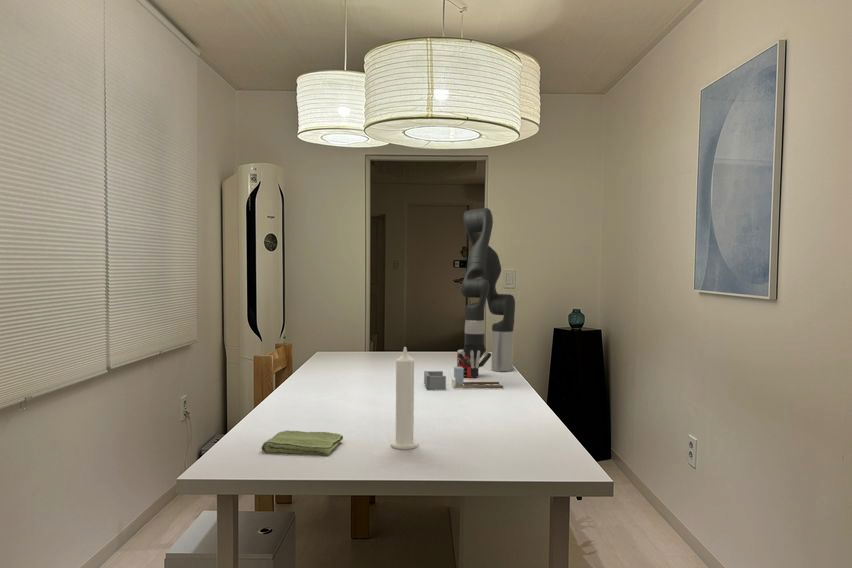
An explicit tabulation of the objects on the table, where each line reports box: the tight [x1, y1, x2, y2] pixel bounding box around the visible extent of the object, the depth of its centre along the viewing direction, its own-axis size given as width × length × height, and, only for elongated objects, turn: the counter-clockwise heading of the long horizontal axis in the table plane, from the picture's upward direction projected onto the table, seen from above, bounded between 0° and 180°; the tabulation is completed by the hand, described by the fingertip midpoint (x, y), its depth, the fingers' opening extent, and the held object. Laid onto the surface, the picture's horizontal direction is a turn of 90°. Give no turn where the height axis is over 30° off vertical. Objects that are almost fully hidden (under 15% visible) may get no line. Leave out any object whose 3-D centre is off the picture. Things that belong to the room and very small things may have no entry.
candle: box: [390, 346, 419, 451], centre depth 151 cm, size 7×7×25 cm
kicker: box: [451, 366, 464, 389], centre depth 225 cm, size 5×4×7 cm
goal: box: [423, 370, 447, 391], centre depth 224 cm, size 11×7×5 cm, turn 5°
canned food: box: [456, 348, 475, 378], centre depth 244 cm, size 8×8×11 cm
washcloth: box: [260, 429, 344, 456], centre depth 149 cm, size 13×18×3 cm
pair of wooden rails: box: [454, 381, 504, 389], centre depth 226 cm, size 8×18×1 cm, turn 95°
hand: (474, 377), depth 226 cm, fingers closed
